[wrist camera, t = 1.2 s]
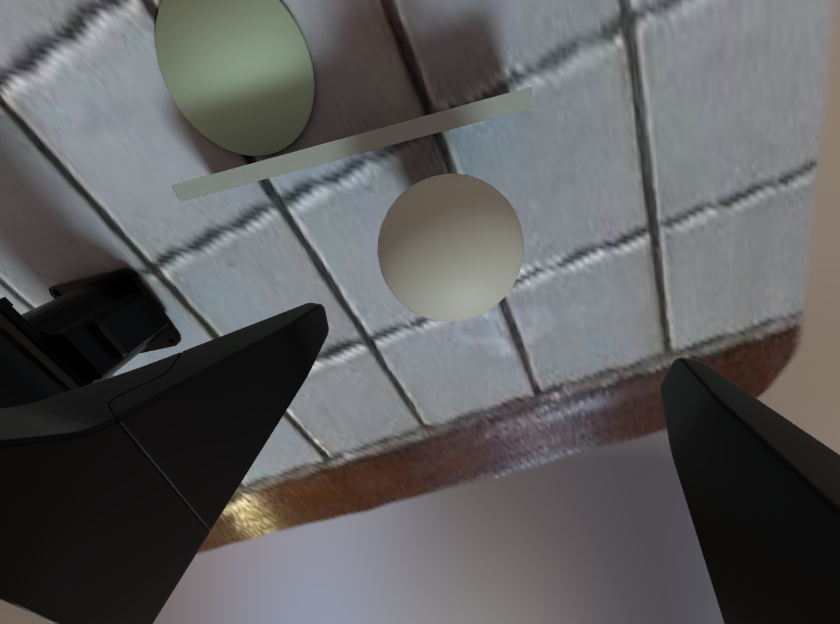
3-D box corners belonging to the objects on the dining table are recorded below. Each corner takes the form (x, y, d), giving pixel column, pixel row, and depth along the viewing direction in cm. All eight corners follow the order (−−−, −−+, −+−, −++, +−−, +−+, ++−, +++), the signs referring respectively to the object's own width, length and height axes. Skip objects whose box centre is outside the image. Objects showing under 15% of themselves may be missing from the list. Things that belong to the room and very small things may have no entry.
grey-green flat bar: (221, 189, 20) (180, 201, 17) (214, 175, 20) (171, 185, 16) (511, 111, 18) (532, 107, 15) (510, 94, 18) (532, 86, 14)
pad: (212, 170, 20) (209, 171, 20) (124, -2, 16) (120, -4, 16) (336, 136, 19) (335, 136, 19) (275, -56, 15) (272, -59, 15)
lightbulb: (412, 140, 19) (403, 153, 9) (505, 181, 20) (581, 230, 11) (379, 236, 22) (347, 321, 12) (462, 267, 23) (492, 368, 13)
